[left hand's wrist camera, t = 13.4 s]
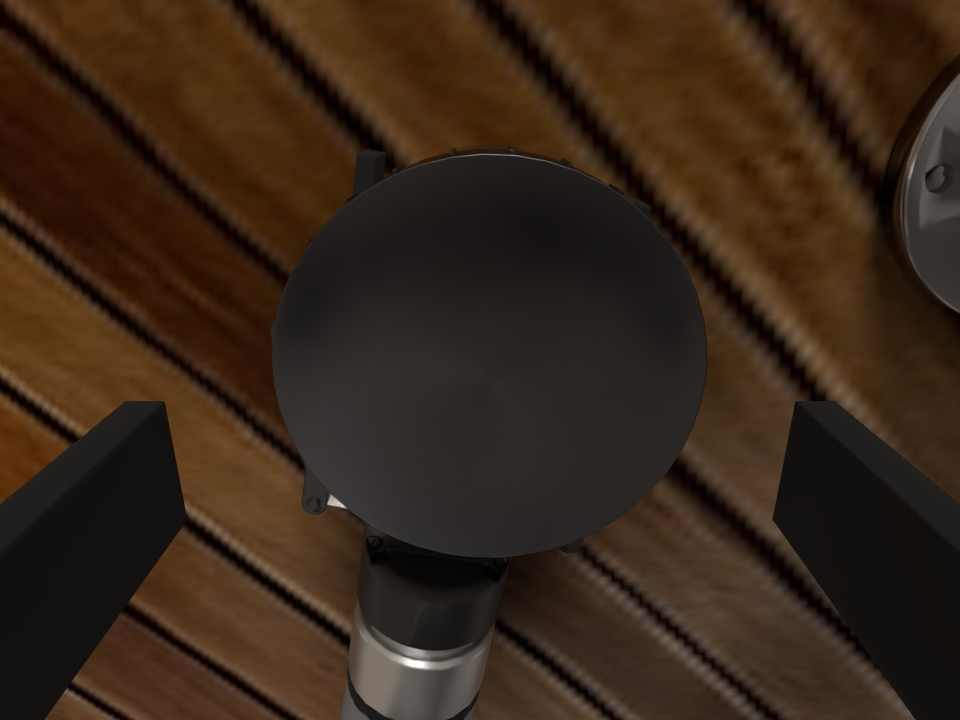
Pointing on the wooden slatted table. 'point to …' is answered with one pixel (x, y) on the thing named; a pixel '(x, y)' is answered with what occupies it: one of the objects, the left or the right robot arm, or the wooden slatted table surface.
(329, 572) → the wooden slatted table surface
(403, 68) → the wooden slatted table surface
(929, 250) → the left robot arm
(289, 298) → the lid
